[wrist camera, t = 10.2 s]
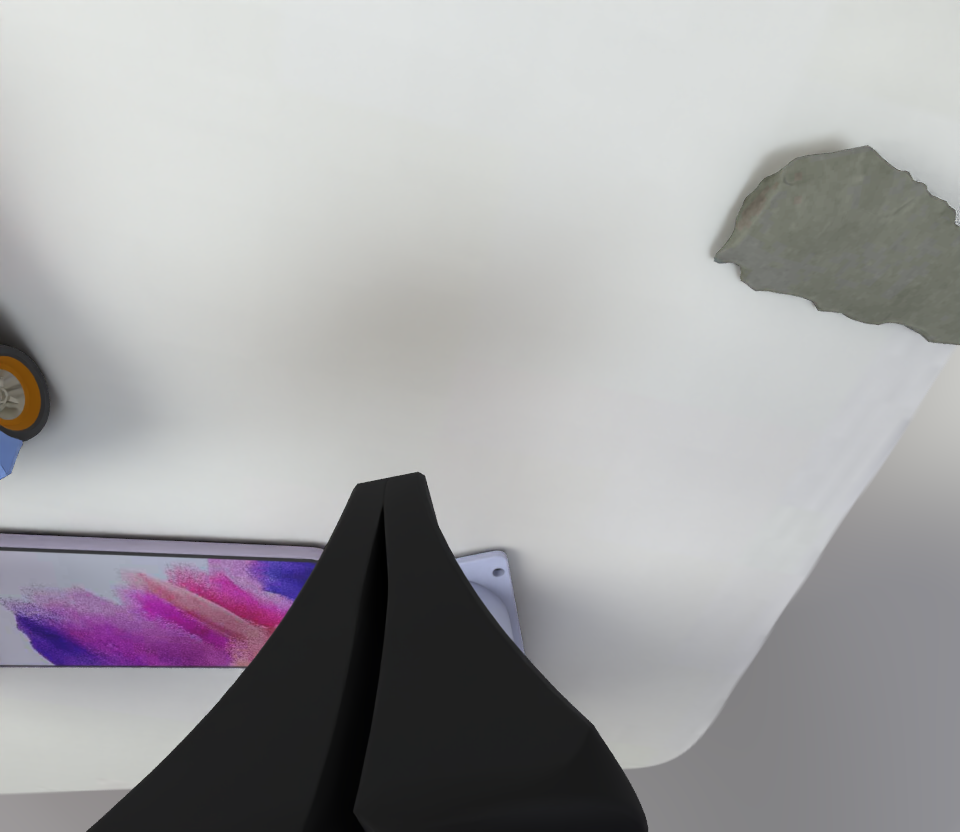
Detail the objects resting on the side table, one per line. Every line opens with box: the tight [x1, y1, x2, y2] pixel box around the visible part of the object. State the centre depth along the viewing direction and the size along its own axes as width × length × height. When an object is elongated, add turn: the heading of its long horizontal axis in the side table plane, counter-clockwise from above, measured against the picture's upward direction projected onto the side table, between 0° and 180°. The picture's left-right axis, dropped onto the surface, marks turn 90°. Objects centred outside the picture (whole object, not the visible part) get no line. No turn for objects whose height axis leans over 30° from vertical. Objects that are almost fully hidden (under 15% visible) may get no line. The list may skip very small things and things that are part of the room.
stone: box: [714, 145, 960, 345], centre depth 20 cm, size 13×2×5 cm
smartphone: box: [0, 534, 323, 668], centre depth 25 cm, size 7×1×15 cm
